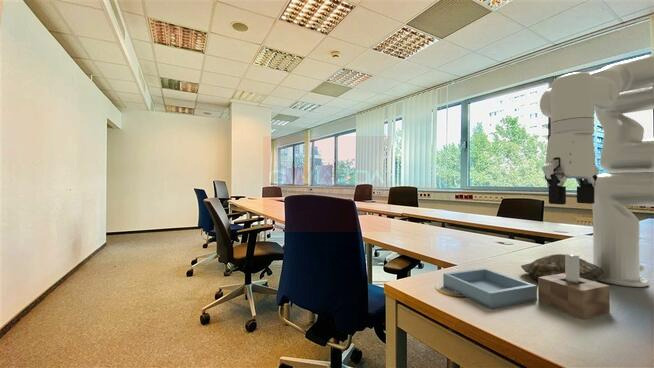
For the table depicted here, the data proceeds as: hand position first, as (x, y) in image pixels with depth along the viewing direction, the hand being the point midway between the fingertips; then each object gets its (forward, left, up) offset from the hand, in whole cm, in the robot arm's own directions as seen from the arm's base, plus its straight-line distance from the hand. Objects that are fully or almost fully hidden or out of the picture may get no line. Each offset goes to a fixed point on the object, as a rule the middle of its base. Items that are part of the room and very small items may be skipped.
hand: (571, 203), depth 64 cm
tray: (+11, -13, -24) cm, 29 cm away
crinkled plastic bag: (-18, -13, -24) cm, 33 cm away
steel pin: (0, 0, -24) cm, 24 cm away
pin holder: (0, 0, -24) cm, 24 cm away
